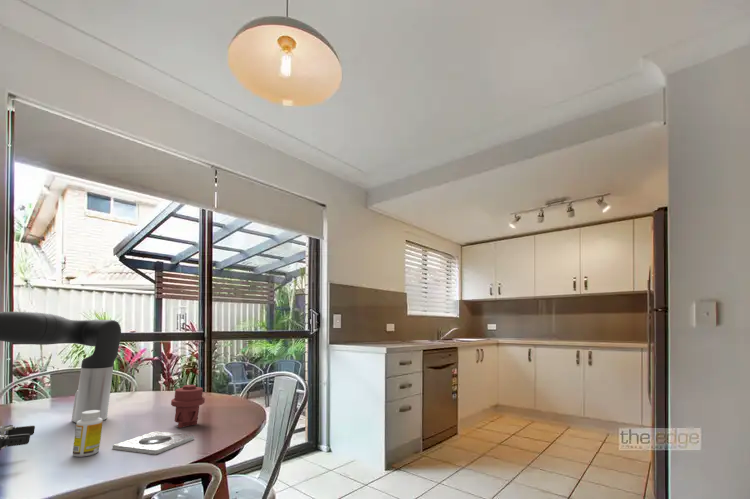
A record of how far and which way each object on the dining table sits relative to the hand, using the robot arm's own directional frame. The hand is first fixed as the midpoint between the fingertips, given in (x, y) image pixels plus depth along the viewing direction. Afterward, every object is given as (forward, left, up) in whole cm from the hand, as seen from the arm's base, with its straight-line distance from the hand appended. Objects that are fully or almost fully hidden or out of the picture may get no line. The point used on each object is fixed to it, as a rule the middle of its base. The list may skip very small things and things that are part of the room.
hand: (32, 434), depth 96 cm
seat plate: (+17, +21, -6) cm, 28 cm away
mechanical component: (+11, +40, -6) cm, 42 cm away
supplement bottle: (+7, +9, -6) cm, 13 cm away
